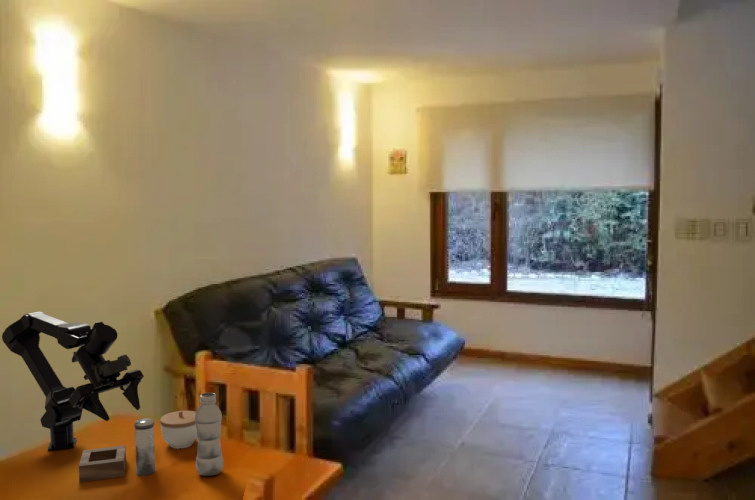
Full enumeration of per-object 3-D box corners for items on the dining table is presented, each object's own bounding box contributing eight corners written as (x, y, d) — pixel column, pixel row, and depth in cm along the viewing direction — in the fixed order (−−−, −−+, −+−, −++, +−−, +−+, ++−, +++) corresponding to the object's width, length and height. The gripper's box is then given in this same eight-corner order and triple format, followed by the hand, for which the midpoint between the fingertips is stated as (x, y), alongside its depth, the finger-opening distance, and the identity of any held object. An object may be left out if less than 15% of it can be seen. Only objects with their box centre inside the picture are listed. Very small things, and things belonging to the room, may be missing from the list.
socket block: (83, 465, 163) (83, 450, 163) (126, 460, 167) (125, 445, 166) (79, 482, 154) (78, 466, 154) (124, 476, 157) (123, 460, 157)
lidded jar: (164, 455, 170) (163, 420, 169) (158, 441, 179) (157, 408, 179) (205, 447, 175) (204, 414, 174) (197, 434, 184) (196, 402, 183)
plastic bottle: (216, 480, 155) (214, 400, 153) (190, 478, 156) (188, 398, 154) (228, 469, 161) (226, 391, 159) (203, 466, 163) (201, 389, 161)
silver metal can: (136, 469, 161) (134, 419, 160) (155, 467, 163) (154, 417, 161) (135, 477, 157) (133, 425, 156) (155, 474, 158) (154, 423, 157)
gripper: (74, 354, 155) (105, 407, 151) (138, 339, 171) (168, 386, 167) (56, 381, 160) (85, 433, 155) (119, 364, 176) (148, 410, 172)
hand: (123, 414), depth 162 cm, fingers open, 9 cm apart
